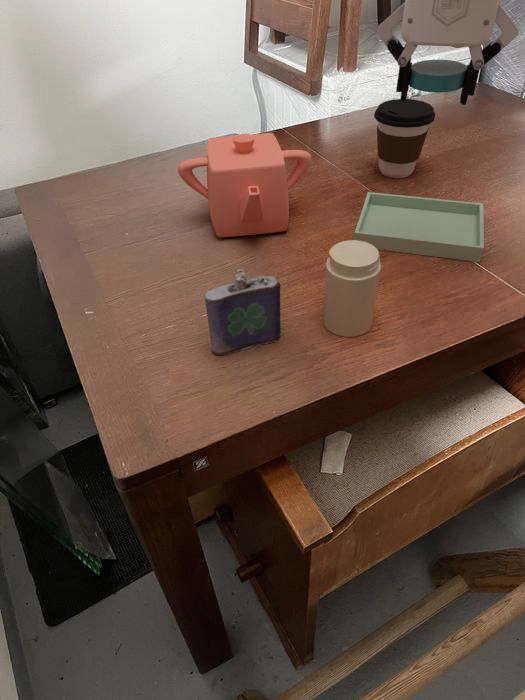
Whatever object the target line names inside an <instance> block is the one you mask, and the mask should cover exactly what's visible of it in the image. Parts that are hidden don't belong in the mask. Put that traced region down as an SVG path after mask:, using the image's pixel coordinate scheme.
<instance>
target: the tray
mask: <svg viewBox="0 0 525 700" xmlns="http://www.w3.org/2000/svg"><path fill="white" fill-rule="evenodd" d="M365 196H366V197H365V199H364V202H363V206H362V209H361V211H360V214H359V217H358V221H357V224H356V227H355V229H354V234H353V240H358V241H364V242H367V243H369V244H371V245H373V246H374V247H376V248H377V250H378V251H379V250H380V251H386V252H394V253H403V254H411V255H419V256H425V257H426V256H429V257H435V258H442V259H451V260H459V261H466V262H475V263H480V262H481V260H482V256H483V253H484V251H485V222H484V220H485V217H484V216H485V215H484V203H483V202H473V201H463V200H462V201H461V200H452V199H443V198H442V199H441V198H433V197H432V198H431V197H423V196H413V195H401V194H391V193H384V192H383V193H382V192H373V191H368V192H367V194H366V195H365Z"/></svg>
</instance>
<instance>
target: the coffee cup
mask: <svg viewBox="0 0 525 700" xmlns="http://www.w3.org/2000/svg"><path fill="white" fill-rule="evenodd" d="M434 110H435V108H434V107H433V105H432V104H431V103H428V102H425V101H423V100H420V99H419V100H418V99H412V98H406V100H404V102H403V101H400V98H393V99H390V100H385V101H383V102H381V103H379V104H378V106H377V108H376V109H375V112H374V114H373V118H374V119H375V121H376V122H377V126H376V143H377V144H376V145H377V157H378V168H379V171H380V173H381V175H383V176H385V177H387V178H392V179H404V178H408V177H410V176H411V175H412V174H413V172H414V170H415V169H416V164H417V162H418V160H419V159H420V156H421V153H422V150H423V146H424V145H425V141H426V139H427V135H428V132H429V129H430V125H431V124H432V123H433V122H434V121H435V118H436V112H435V111H434Z"/></svg>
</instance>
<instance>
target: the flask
mask: <svg viewBox="0 0 525 700" xmlns="http://www.w3.org/2000/svg"><path fill="white" fill-rule="evenodd" d="M236 272H237V273H236ZM232 275H235V277H234V280H233V281H232V282H231V283H227V284H224V285H220V286H218V287H214V288H213V289H212V288H211V289H210V290H208V291H206V292H205V294H204V303H205V309H206V316H207V323H208V331H209V337H210V347H211V351H212V352H213V353H214V355H215V356H226V355H227V356H228V355H231V354H232V353H235V352H242V351H246V350H249V349H251V348H252V347H253V346H254V347H255V346H256V347H259V346H260V345H268V344H269V343H276V342H277V341H278V340H279V339H281V331H282V330H281V283H280V281H279V280H278V278H276V277H274V276H271V275H270V276H269V275H267V276H265V275H263V276H259V277H253V278H251V277H249V276H247V275H245V271H244V269H236V271H233V272H232Z"/></svg>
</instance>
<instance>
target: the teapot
mask: <svg viewBox="0 0 525 700" xmlns="http://www.w3.org/2000/svg"><path fill="white" fill-rule="evenodd" d="M286 160H296V161H297V163H296V165H295V167H294V169H293V170H292V172H291V173H290V175H289V176H288V177H287V170H286V163H285V161H286ZM311 163H312V155H311V153H309V152H308V151H306V150H304V149H303V150H302V149H286V150H282V148H281V146H280V143H279V141H278V139H277V137H276V135H275V134H274V133H273V132H264V133H263V132H262V133H251V134H250V133H239V134H236V135H229V136H227V135H226V136H217V137H209V138H208V139H207V142H206V157H196V158H190V159H186V160H183V161H181V162H180V163H179V164H178V166H177V174H178V175H179V177H180V178H181V179H182V181H183V182H184V183H185V184H186V185H187V186H188V187H190V188H191V189H192V190H194V191H195V192H196V193H198V194H200V195H201V196H202V197H204V198H205V199H207V201H208V210H209V214H210V219H211V222H212V226H213V229H214V233H215V235H216V237H218V238H230V237H243V236H253V235H262V234H274V233H282V232H286V231H287V230H288V228H289V221H290V200H289V199H290V197H289V191H290V189H292V187H293V186H295V185H296V184H297V182H299V181H300V179H302V178H303V176H305V174H306V172H307V171H308V170H309V168H310V165H311ZM202 167H206V187H205V186H204V184H202V183H201V181H199V179H198V178H197V177H196V175H195V174H194V172H193V170H194V169H196V168H202Z"/></svg>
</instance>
